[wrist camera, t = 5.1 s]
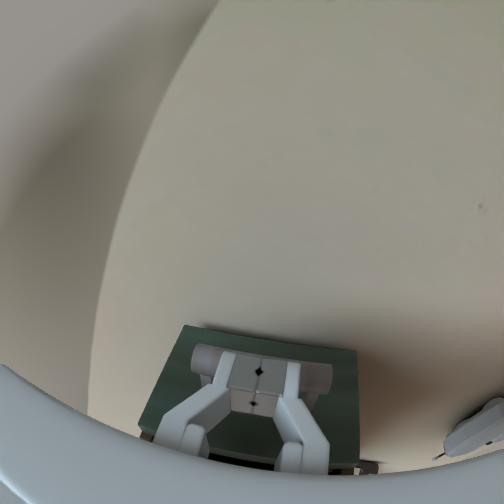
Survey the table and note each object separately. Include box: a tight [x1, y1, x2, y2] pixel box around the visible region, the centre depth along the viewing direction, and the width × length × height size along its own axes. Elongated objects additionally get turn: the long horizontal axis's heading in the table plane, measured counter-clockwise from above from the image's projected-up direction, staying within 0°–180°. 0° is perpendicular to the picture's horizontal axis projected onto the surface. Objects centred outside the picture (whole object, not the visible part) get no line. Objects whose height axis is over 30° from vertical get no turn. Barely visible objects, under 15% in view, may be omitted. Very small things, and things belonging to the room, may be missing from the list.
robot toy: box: [432, 398, 504, 461], centre depth 20 cm, size 12×4×15 cm
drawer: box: [138, 325, 360, 474], centre depth 17 cm, size 18×11×8 cm, turn 177°
